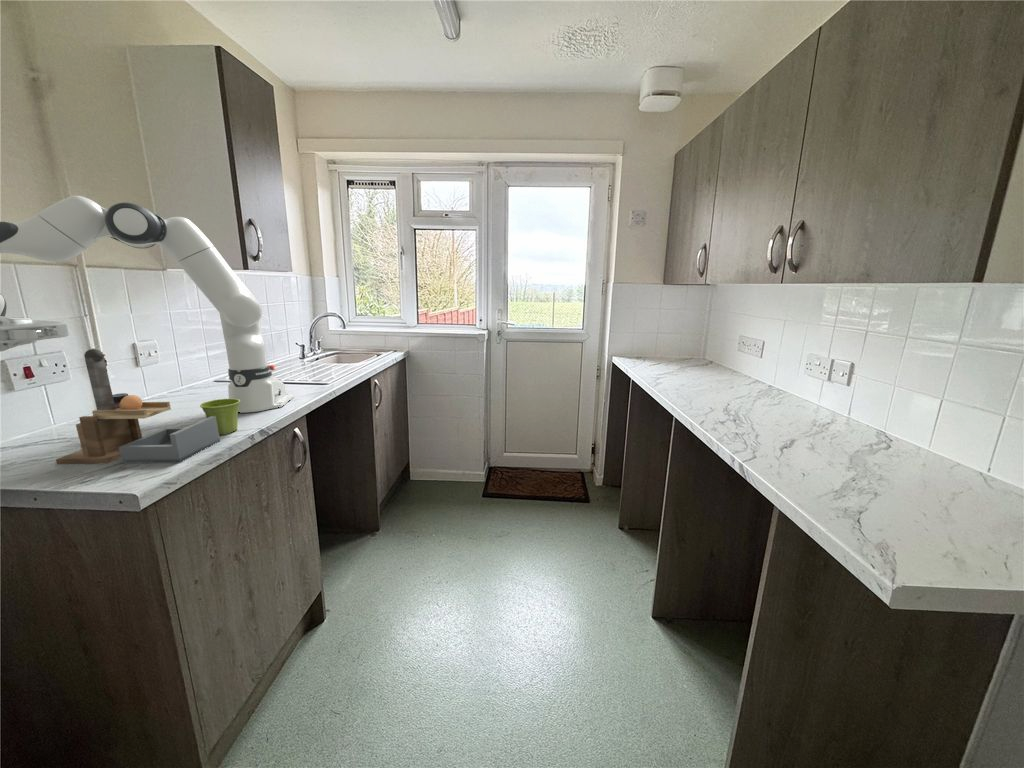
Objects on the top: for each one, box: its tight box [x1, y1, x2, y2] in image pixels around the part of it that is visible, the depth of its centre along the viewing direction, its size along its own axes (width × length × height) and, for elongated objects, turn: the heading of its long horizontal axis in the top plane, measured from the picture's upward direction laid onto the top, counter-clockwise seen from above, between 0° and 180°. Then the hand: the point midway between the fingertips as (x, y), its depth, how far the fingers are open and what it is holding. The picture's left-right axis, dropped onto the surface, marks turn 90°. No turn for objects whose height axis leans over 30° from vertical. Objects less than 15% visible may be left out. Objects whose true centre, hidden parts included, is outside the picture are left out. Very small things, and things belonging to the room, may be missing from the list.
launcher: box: [83, 348, 172, 421], centre depth 101 cm, size 9×14×17 cm, turn 91°
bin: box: [119, 416, 221, 464], centre depth 104 cm, size 14×14×7 cm
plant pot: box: [199, 398, 240, 435], centre depth 118 cm, size 9×9×9 cm
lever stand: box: [55, 415, 143, 465], centre depth 103 cm, size 14×12×11 cm
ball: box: [120, 394, 143, 410], centre depth 102 cm, size 4×4×4 cm
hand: (47, 333), depth 100 cm, fingers open, 3 cm apart
